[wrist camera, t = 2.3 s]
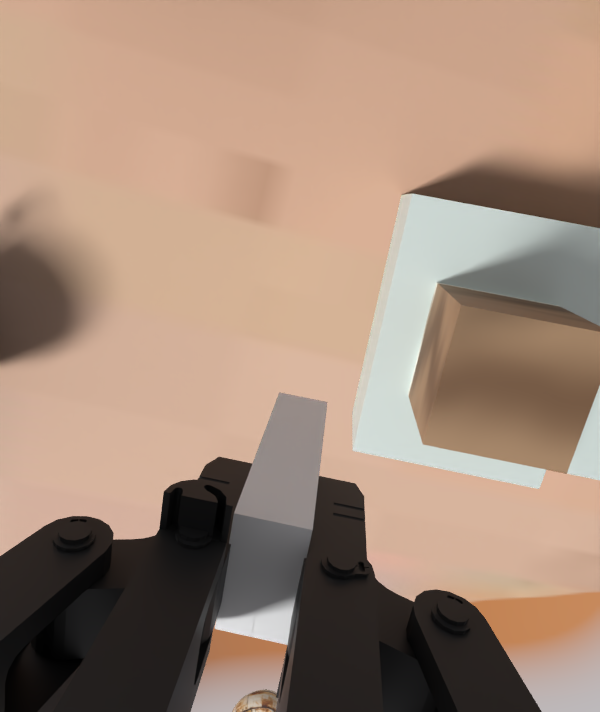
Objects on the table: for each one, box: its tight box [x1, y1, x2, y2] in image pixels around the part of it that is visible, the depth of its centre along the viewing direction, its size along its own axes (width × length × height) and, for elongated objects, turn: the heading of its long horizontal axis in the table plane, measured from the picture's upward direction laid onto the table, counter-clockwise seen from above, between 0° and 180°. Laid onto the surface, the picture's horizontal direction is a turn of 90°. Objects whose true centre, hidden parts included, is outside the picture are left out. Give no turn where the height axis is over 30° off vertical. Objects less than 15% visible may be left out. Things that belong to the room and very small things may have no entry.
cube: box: [408, 282, 600, 474], centre depth 28 cm, size 7×7×7 cm
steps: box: [352, 193, 600, 489], centre depth 34 cm, size 16×23×6 cm
